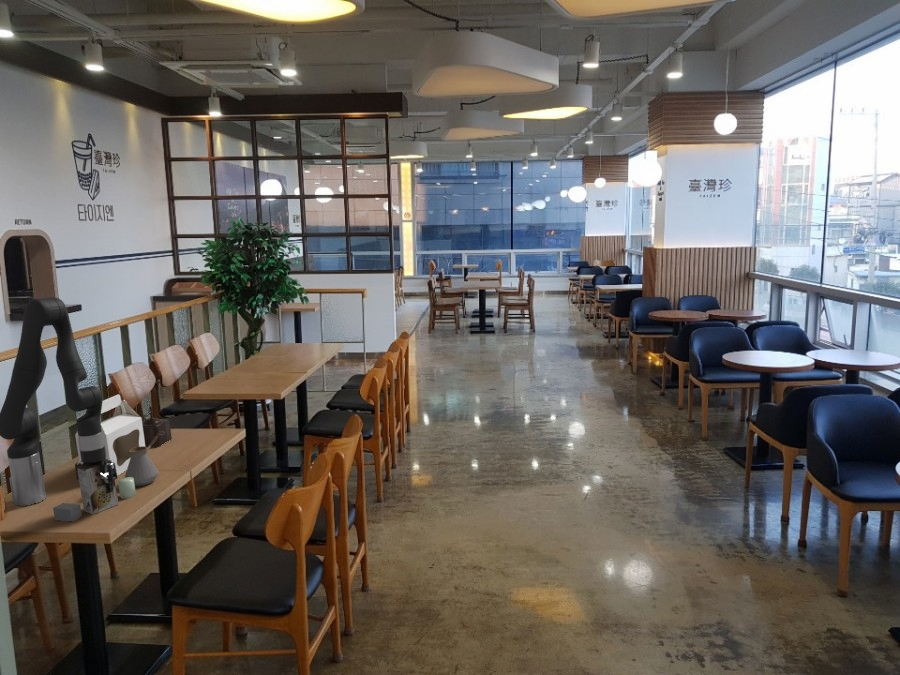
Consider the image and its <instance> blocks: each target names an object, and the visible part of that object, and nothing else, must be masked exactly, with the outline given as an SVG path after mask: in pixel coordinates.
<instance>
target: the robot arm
mask: <svg viewBox="0 0 900 675" xmlns="http://www.w3.org/2000/svg"><path fill="white" fill-rule="evenodd" d="M46 326H47V327H48V326H52V327H53V330H54V331H55V334H56V336H57V337H56V339H57V346H56V351H55V352H56V353H55V362H56V365H57V367H58V370H59V373H60V375H61V377H62V380H63V386H64V391H65V401H66V405H67V407H68V408H69V409H70V410H71V411H73V412H76V413H77V412H81V411H85V410H86V411H85V413H84V414H83V415H81V416H79V417H78V418H77V419H76V422H75V423H76V430H77V431H78V442H79V449H80V455H81V461H80V462H79V461H78V462H76V463H74V470H75V478H76V480H77V481H79V477H78V471H77V466H78V465H81V464H96V465H100V467H101V471H103V470H104V468H105V467H106V468H107V470H108V473H105V474H102V473H101V472H99V474H100V478H101V479H103V480H104V481H105V482H106V483H105V486H106V492H107V493H111V492H112V491H113V481H114V480H115V481H116V480H117V479H118V478H119V477H118V476H117V472H116V466H115V463H114V462H112V463H106V460H105V459H106V450H105V444H104V437H103V434H102V430H101V415H102V413H101V409H102V402H103V400H104V398H103V393H102V391H101V390H100V388H98V387H97V386H95V385H89V386H87V387H82V388H79V384H80V383H81V382H83V381H85V380H87V377H88V372H87V371H86V369H85V367H84V364H83V361H82V358H81V357H80V354H79V352H78V348H77V345H76V341H75V338H74V332H73V328H72V325H71V320H70V316H69V313H68V309H67V307H66V304H65V303H64V301H63V300H62V299H61V298H58V297H51V296H50V297H39V298H32V299H30V300H28V301H27V303H26V305H25V308H24V311H23V318H22V326H21V334H20V339H19V340H20V341H19V343H18V349H17V353H16V357H15V360H14V365H13V368H12V373H11V376H10V381H9V385H8V389H7V392H6V396H5V398H4V399H5V400H4V402H3V403H2V404H3V405H2V407H1V410H0V437H1V438H2V439H4V440H8V441H9V440H12V443H11V444H10V445H9V447H7V449H6V454H7V459H8V466H9V470H10V477H9V485H10V490H11V497H12V501H13V504H15V505H16V506H19V507H25V506H24V505H27V506H31V504H32V505H35V504H34V503H36V504H38V502H39V503H41V502H42V500H43V501H44V500H46V499H47V494H46V488H45V481H44V474H43V470H42V462H41V457H40V450H39V446H40V430H39V422H38V418H37V416H36V413H35V412H34V411H33V410H32V409H31V408H29V407H27V405H28V404H29V402H30V400H31V398H32V397H33V396H34V394H35V393H36V391H38V388H39V387H40V385H41V384H42V382H43V379H44V376H45V375H46V374H45V373H46V370H47V365H48V360H47V356H46V353H45V351H44V348H43V346H42V344H41V340H42V333H43V331H44V328H45V327H46ZM107 475H108V478H107V477H106V476H107ZM45 498H46V499H45Z"/></svg>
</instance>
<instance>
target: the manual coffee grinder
mask: <svg viewBox="0 0 900 675" xmlns="http://www.w3.org/2000/svg"><path fill="white" fill-rule="evenodd" d="M148 409H149V410H148V412H147V413H145V414H144V415H143V416H142V415H141V416H140V417H141V418H142V426H143V433H144V440H145V447H147V448H148V446H149V445H150V443H151V442H152V440H153V439H154V438H155V437H156V436H157V434H158V433H159V432H160V431H163V432H161V434H162V435H161V434H160V436H158V438H157V440H156V441H155V443H154V444H153V445H152V446H151V447H150V448H160V447H162V446H163V445H162V444H164V443H165V442H167V441H169V440H170V441H172V440H173V438H172V431H171V430H172V429H171V422H170V419H164V418H163V419H162V418H161V419H160V418H157V417H154V416H153V411H154V410H153V406H149V407H148ZM133 410H134V411H135V409H134V408H133ZM148 416H150V417H149V418H147V417H148ZM164 433H165V434H164ZM163 434H164V435H163ZM171 439H172V440H171ZM170 441H169V442H170ZM167 443H168V442H167ZM165 444H166V443H165ZM165 444H164V445H165ZM161 445H162V446H161ZM159 446H160V447H159Z"/></svg>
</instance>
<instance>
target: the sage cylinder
mask: <svg viewBox="0 0 900 675" xmlns="http://www.w3.org/2000/svg"><path fill="white" fill-rule="evenodd" d="M117 484H118V491H119V497H120V499H121V500H127V499H131V497H132V498H134V497H136V496H137V494H136V492H137V491H136V486H135V484H134V478H133V477H126V478H125V477H123V478H120V479H119V480H118V481H117ZM133 496H134V497H133Z"/></svg>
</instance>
